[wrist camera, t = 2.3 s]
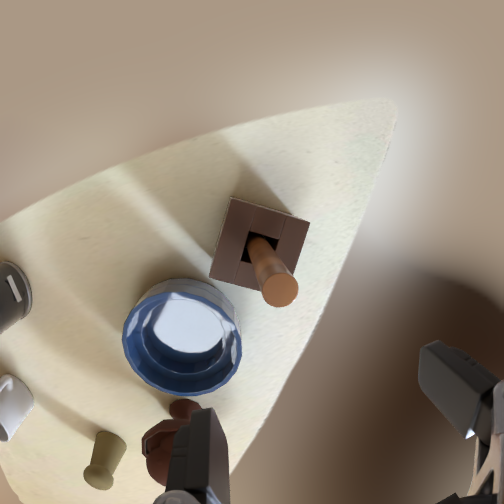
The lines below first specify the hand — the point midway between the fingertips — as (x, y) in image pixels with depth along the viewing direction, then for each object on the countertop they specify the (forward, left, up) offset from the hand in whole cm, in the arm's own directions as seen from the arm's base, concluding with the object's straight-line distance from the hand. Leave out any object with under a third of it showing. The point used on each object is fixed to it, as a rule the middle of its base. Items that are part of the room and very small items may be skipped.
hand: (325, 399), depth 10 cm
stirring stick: (-1, +1, -29) cm, 29 cm away
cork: (-15, -42, -29) cm, 53 cm away
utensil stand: (-1, +1, -29) cm, 29 cm away
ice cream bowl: (-3, -28, -29) cm, 40 cm away
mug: (-35, -37, -29) cm, 59 cm away
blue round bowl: (-6, -13, -29) cm, 32 cm away
